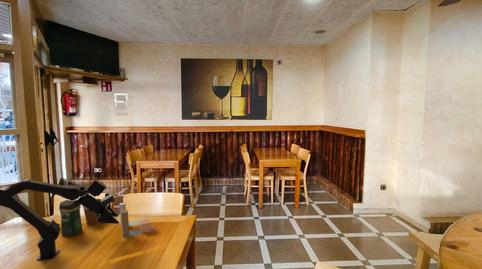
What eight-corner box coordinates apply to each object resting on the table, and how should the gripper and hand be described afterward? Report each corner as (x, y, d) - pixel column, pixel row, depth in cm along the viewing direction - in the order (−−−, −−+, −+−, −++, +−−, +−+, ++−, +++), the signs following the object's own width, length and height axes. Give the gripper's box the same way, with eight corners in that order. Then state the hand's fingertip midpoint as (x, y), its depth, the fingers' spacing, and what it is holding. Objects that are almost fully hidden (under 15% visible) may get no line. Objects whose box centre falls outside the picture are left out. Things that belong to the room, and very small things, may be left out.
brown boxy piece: (123, 240, 127) (122, 214, 125) (122, 234, 133) (121, 209, 131) (155, 232, 135) (154, 208, 133) (152, 227, 141) (151, 204, 139)
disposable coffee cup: (79, 224, 145) (78, 205, 144) (93, 218, 154) (92, 199, 153) (92, 226, 142) (90, 207, 141) (105, 220, 151) (104, 201, 150)
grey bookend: (121, 230, 138) (120, 206, 136) (120, 225, 144) (119, 202, 142) (151, 223, 146) (150, 200, 144) (148, 219, 152) (148, 197, 150)
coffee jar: (85, 230, 138) (83, 198, 137) (73, 237, 131) (70, 203, 129) (70, 228, 140) (68, 197, 138) (58, 235, 132) (55, 202, 131)
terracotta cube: (141, 233, 132) (141, 224, 131) (140, 229, 136) (139, 220, 136) (151, 231, 134) (150, 222, 134) (149, 227, 139) (149, 218, 138)
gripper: (104, 195, 115) (131, 212, 122) (103, 185, 131) (127, 201, 138) (85, 215, 112) (114, 232, 119) (87, 202, 128) (112, 217, 135)
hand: (117, 219), depth 128 cm, fingers open, 9 cm apart
